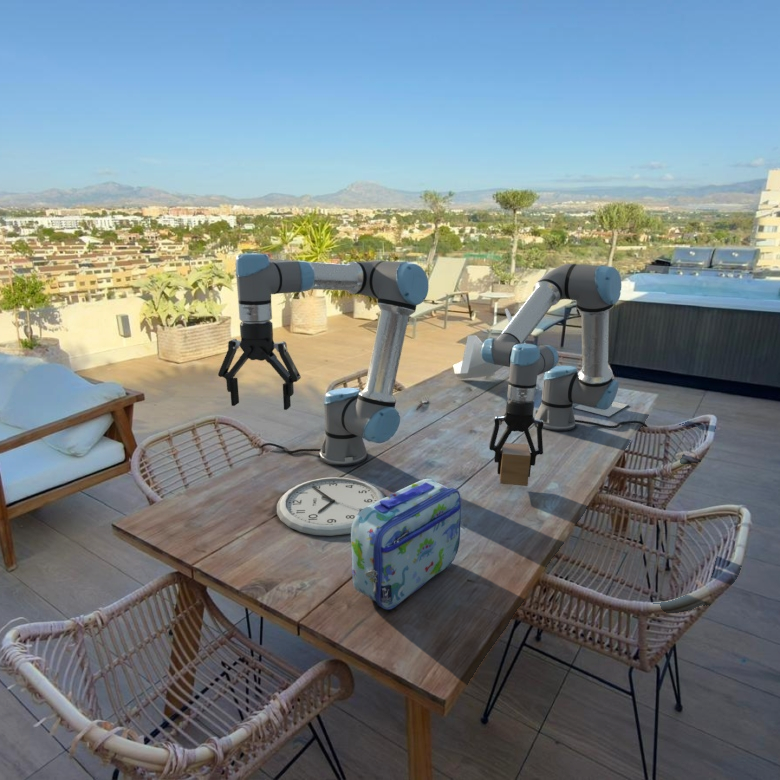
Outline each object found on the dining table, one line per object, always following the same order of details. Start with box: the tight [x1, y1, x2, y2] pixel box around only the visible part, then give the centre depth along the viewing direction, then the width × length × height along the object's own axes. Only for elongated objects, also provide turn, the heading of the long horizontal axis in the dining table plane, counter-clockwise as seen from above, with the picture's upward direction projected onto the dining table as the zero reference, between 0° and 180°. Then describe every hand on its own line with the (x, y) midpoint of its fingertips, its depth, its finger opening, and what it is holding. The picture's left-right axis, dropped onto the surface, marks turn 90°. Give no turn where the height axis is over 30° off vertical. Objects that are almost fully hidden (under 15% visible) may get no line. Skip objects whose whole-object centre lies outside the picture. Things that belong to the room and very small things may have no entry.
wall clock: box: [276, 476, 386, 537], centre depth 142 cm, size 30×2×30 cm
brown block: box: [498, 442, 531, 487], centre depth 152 cm, size 8×8×9 cm
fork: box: [415, 395, 430, 410], centre depth 224 cm, size 3×16×2 cm, turn 160°
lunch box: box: [350, 478, 462, 611], centre depth 110 cm, size 26×11×21 cm, turn 135°
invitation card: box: [573, 400, 629, 418], centre depth 226 cm, size 21×1×15 cm
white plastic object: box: [452, 307, 542, 390], centre depth 254 cm, size 37×45×31 cm
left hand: (261, 406), depth 130 cm, fingers open, 13 cm apart
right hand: (513, 473), depth 153 cm, fingers closed on brown block, 8 cm apart
